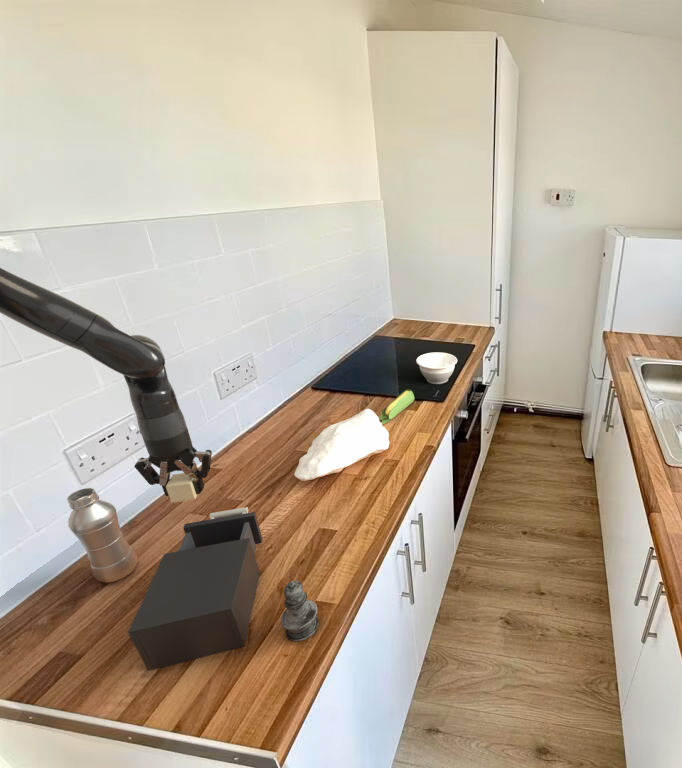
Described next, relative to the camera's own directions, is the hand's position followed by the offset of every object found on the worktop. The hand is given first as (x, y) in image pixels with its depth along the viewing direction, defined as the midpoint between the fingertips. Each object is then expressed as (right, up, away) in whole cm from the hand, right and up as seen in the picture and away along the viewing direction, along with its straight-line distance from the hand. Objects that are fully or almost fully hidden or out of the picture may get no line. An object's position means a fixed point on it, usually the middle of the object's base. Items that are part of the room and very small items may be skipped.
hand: (186, 493), depth 98 cm
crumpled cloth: (+27, +4, +27) cm, 38 cm away
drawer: (+15, -12, -9) cm, 21 cm away
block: (0, 0, 0) cm, 0 cm away
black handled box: (+19, -18, -19) cm, 32 cm away
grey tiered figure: (+36, -19, -20) cm, 46 cm away
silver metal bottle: (-4, -13, -12) cm, 18 cm away
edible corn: (+35, +15, +51) cm, 63 cm away
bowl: (+44, +27, +76) cm, 91 cm away
